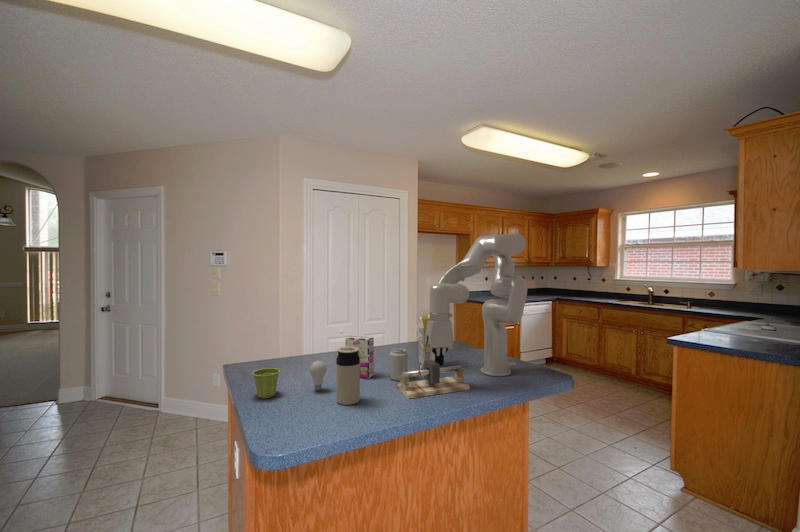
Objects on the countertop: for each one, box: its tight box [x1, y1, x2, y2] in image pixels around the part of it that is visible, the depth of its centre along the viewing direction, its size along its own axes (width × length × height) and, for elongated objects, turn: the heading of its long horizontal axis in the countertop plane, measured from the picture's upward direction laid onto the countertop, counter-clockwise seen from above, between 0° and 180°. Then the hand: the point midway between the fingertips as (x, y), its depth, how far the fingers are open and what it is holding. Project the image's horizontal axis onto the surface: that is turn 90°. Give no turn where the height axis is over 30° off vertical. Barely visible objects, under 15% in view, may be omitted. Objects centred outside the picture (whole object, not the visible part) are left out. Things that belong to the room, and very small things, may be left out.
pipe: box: [402, 364, 463, 378], centre depth 137 cm, size 24×2×2 cm, turn 112°
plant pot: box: [251, 367, 281, 399], centre depth 130 cm, size 9×9×9 cm
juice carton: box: [418, 313, 435, 370], centre depth 165 cm, size 9×8×24 cm
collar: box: [423, 360, 441, 384], centre depth 136 cm, size 3×7×7 cm, turn 22°
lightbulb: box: [309, 360, 327, 392], centre depth 134 cm, size 6×6×11 cm
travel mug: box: [335, 346, 361, 406], centre depth 124 cm, size 8×8×18 cm
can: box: [389, 347, 409, 382], centre depth 149 cm, size 8×8×12 cm
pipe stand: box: [395, 368, 471, 400], centre depth 137 cm, size 25×12×6 cm, turn 112°
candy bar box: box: [345, 335, 375, 380], centre depth 152 cm, size 11×5×16 cm, turn 68°
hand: (439, 365), depth 137 cm, fingers closed
